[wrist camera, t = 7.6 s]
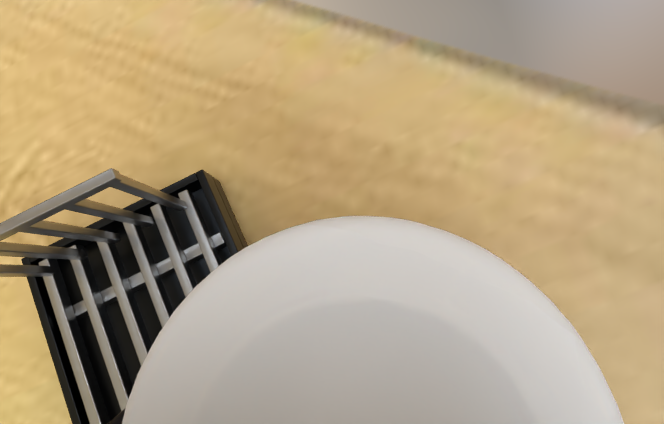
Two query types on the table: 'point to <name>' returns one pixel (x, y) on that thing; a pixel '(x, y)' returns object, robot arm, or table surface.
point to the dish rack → (117, 278)
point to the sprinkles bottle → (368, 337)
